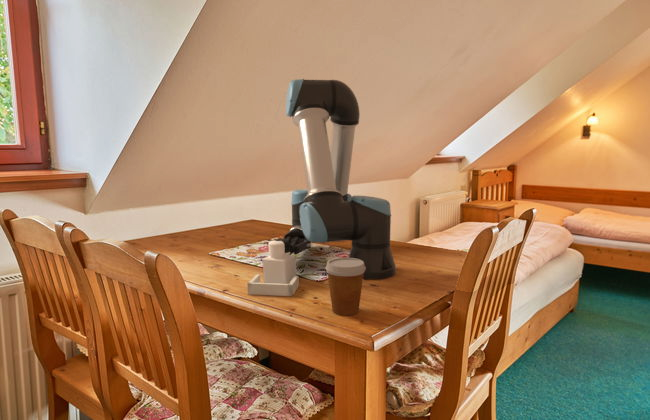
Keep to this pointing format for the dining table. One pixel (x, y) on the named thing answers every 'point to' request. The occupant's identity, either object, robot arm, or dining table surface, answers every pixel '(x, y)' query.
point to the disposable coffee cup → (345, 284)
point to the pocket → (272, 287)
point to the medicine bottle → (279, 263)
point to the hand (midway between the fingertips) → (280, 255)
